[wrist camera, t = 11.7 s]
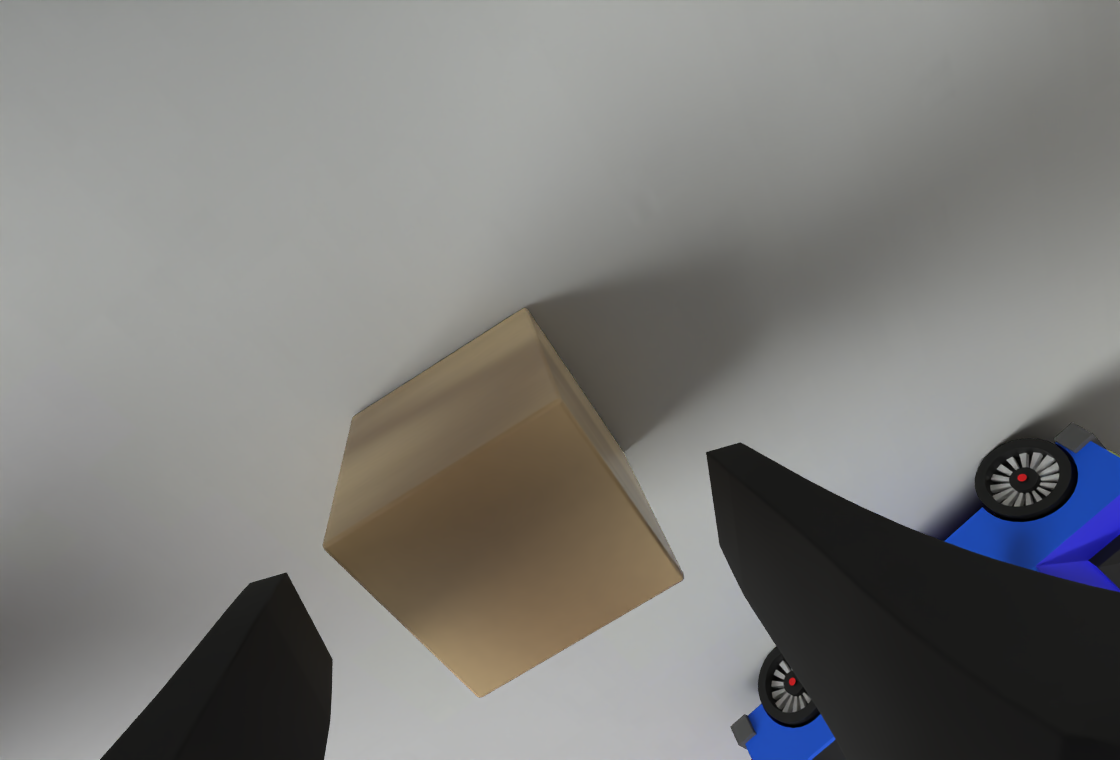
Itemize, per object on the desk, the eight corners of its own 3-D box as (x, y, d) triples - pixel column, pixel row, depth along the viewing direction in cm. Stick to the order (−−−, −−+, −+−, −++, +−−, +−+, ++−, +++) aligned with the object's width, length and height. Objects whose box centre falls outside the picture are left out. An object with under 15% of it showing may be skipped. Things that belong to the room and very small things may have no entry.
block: (468, 547, 16) (479, 701, 12) (350, 416, 14) (319, 548, 10) (624, 453, 16) (687, 579, 12) (525, 305, 14) (560, 398, 10)
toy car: (1137, 511, 20) (1342, 641, 15) (836, 762, 22) (936, 935, 18) (1027, 389, 17) (1235, 503, 13) (701, 689, 20) (779, 871, 15)
